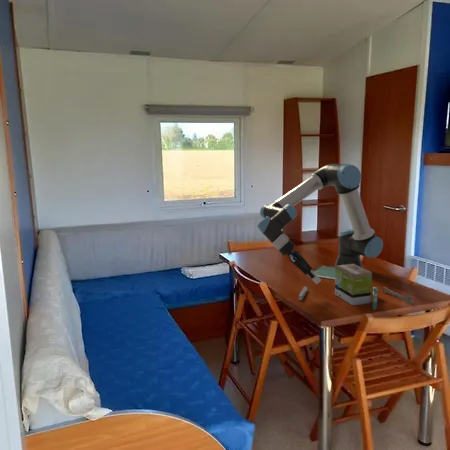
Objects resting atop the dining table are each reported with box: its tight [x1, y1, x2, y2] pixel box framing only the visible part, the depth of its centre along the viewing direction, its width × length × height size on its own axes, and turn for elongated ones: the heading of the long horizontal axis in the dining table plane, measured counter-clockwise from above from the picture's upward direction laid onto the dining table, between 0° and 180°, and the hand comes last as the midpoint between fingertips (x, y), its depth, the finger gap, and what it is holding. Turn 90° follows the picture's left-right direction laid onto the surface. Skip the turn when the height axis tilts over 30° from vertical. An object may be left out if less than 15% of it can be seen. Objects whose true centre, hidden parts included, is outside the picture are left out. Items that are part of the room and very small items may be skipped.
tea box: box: [334, 264, 373, 306], centre depth 192 cm, size 15×10×15 cm, turn 17°
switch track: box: [298, 286, 379, 310], centre depth 193 cm, size 16×34×5 cm, turn 70°
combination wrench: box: [381, 286, 414, 306], centre depth 193 cm, size 4×1×20 cm
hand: (318, 282), depth 195 cm, fingers closed
